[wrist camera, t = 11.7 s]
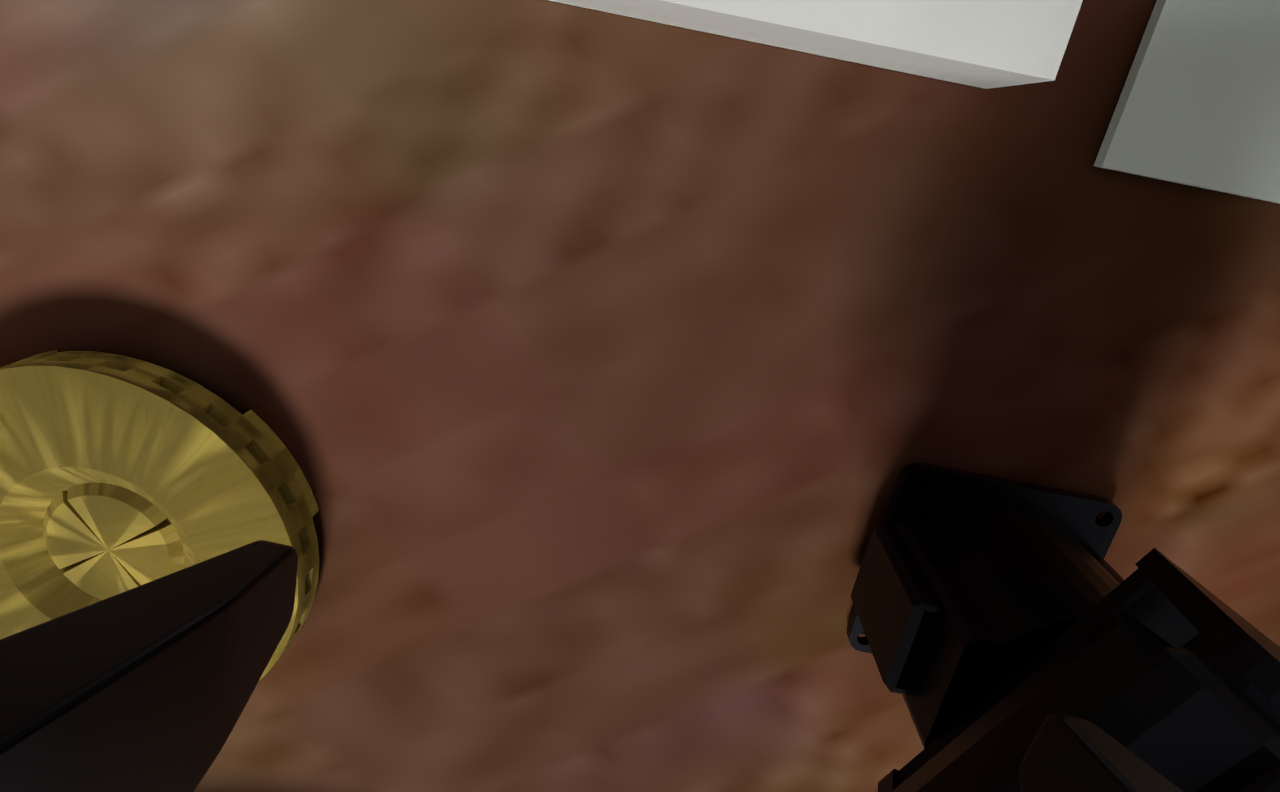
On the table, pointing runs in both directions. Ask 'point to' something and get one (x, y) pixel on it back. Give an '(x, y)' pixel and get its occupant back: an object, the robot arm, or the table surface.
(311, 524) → the gold flat disc
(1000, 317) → the table surface
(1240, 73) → the mat
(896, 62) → the collar
